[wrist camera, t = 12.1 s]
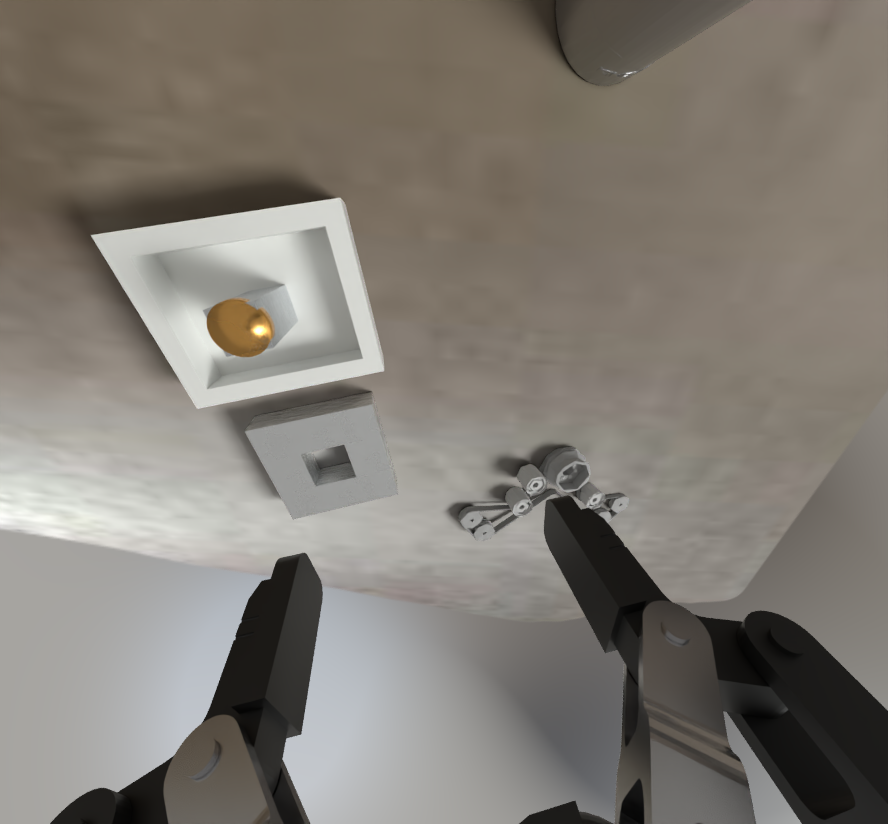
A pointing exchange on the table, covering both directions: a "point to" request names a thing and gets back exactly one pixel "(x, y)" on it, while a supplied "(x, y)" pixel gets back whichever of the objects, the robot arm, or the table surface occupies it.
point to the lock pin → (251, 321)
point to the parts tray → (244, 269)
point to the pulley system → (560, 471)
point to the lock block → (320, 427)
